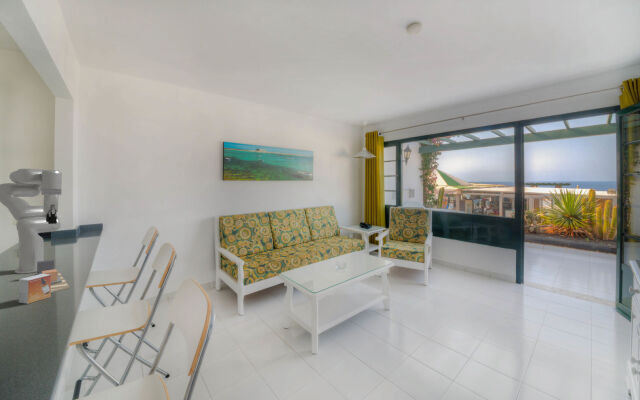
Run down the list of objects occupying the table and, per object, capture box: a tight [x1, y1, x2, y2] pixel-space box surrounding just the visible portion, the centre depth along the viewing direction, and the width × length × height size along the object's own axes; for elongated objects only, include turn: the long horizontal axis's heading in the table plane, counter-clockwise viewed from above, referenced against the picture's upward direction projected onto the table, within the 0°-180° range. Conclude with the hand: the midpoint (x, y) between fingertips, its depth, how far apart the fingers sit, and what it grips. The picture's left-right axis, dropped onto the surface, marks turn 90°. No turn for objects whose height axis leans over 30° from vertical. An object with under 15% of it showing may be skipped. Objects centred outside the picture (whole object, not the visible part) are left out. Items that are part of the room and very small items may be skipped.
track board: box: [29, 271, 70, 293], centre depth 128 cm, size 33×11×1 cm, turn 53°
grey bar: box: [33, 259, 62, 284], centre depth 130 cm, size 22×8×8 cm, turn 53°
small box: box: [18, 274, 52, 305], centre depth 110 cm, size 8×6×10 cm
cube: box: [42, 268, 58, 282], centre depth 126 cm, size 5×5×5 cm
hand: (51, 222), depth 137 cm, fingers open, 9 cm apart
